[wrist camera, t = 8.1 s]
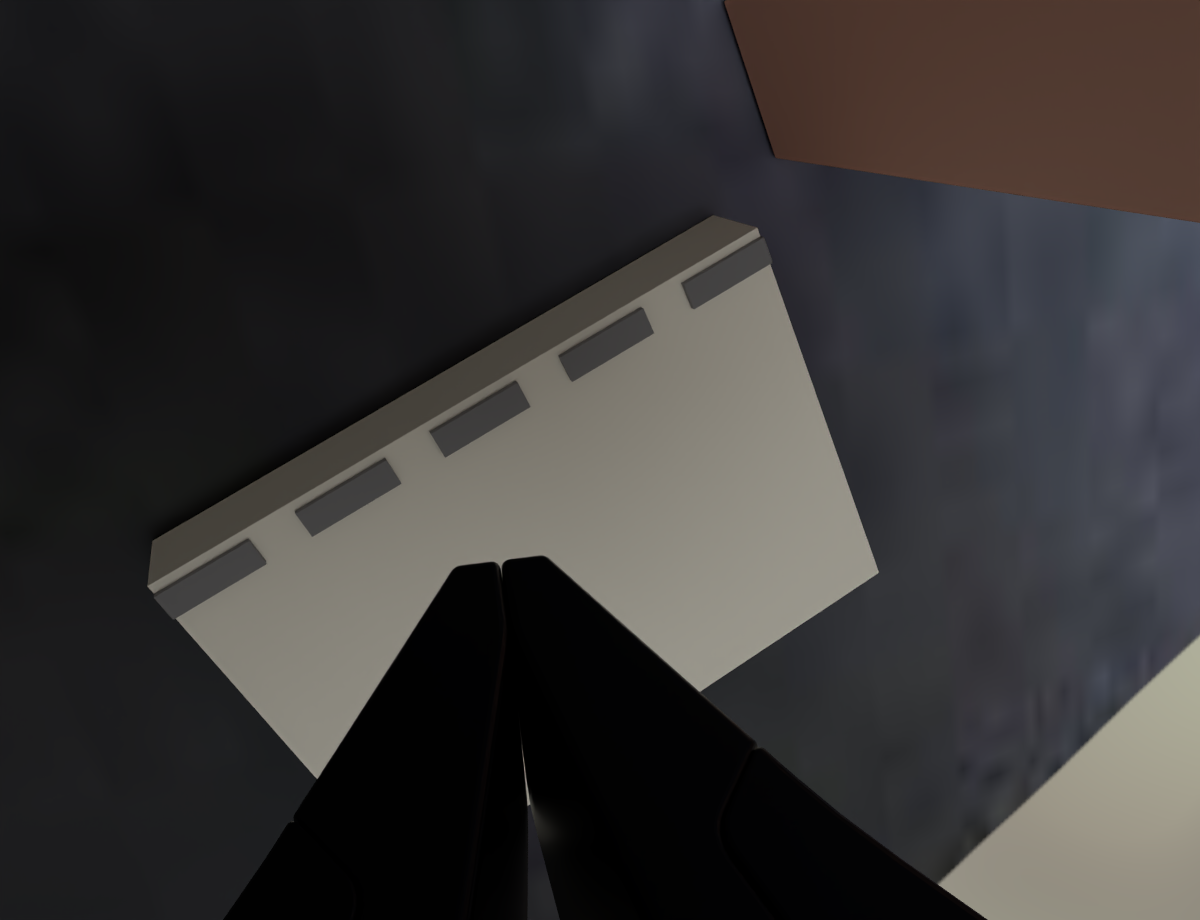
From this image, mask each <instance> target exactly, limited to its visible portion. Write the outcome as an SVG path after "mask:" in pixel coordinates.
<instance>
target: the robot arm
mask: <svg viewBox="0 0 1200 920" xmlns="http://www.w3.org/2000/svg"><path fill="white" fill-rule="evenodd" d="M501 571H502V573H501ZM522 750H523V752H522ZM523 758H524V761H523ZM524 766H525V771H524ZM525 774H526V781H527V787H528V794H529V800H530V805H531V809H532V814H533V818H534V822H535V827H536V831H537V834H538V838H539V842H540V846H541V850H542V853H543V857H544V861H545V865H546V869H547V872H548V876H549V880H550V884H551V888H552V891H553V895H554V899H555V903H556V907H557V910H558V914H559V918H560V920H987V919H986V918H984V917H983V916H981V915H980V914H979V913H977V912H976V911H974V910H973V909H972V908H970V907H969V906H967V905H966V904H964V903H963V902H962V901H960V900H958V899H957V898H956V897H955V896H953V895H951V894H950V893H949V892H947V891H946V890H945V889H943V888H942V887H940V886H939V885H938V884H936V883H935V882H933V881H932V880H930V879H929V878H928V877H926V876H925V875H923V874H922V873H921V872H919V871H918V870H916V869H915V868H913V867H912V866H911V865H909V864H908V863H906V862H905V861H903V860H902V859H901V858H899V857H898V856H897V855H895V854H894V853H893V852H891V851H890V850H889V849H887V848H886V847H885V846H883V845H882V844H880V843H879V842H878V841H876V840H875V839H874V838H872V837H871V836H870V835H868V834H867V833H866V832H864V831H863V830H862V829H860V828H859V827H858V826H856V825H855V824H854V823H852V822H851V821H850V820H848V819H847V818H846V817H844V816H843V815H841V814H840V813H839V812H838V811H837V810H835V809H834V808H833V807H832V806H831V805H829V804H828V803H827V802H826V801H825V800H823V799H822V798H821V797H820V796H819V795H817V794H816V793H815V792H814V791H813V790H811V789H810V788H809V787H808V786H807V785H805V784H804V783H803V782H802V781H801V780H799V779H798V778H797V777H796V776H795V775H793V774H792V773H791V772H790V771H789V770H788V769H787V768H785V767H784V766H783V765H782V764H781V763H780V762H779V761H778V760H776V759H775V758H774V757H773V756H772V755H771V754H770V753H769V752H767V751H766V750H765V749H764V748H762V747H759V748H758V746H757V743H756V741H755V740H753V739H752V738H751V737H750V736H749V735H748V734H747V733H745V732H744V731H743V730H742V729H741V728H740V727H739V726H738V725H736V724H735V723H734V722H733V721H732V720H731V719H730V718H729V717H727V716H726V715H725V714H724V713H723V712H722V711H721V710H720V709H718V708H717V707H716V706H715V705H714V704H713V703H712V702H711V701H709V700H708V699H707V698H706V697H705V696H704V695H703V694H702V693H700V692H699V691H698V690H697V689H696V688H695V687H694V686H693V685H691V684H690V683H689V682H688V681H687V680H686V679H685V678H684V677H682V676H681V675H680V674H679V673H678V672H677V671H676V670H674V669H673V668H672V667H671V666H670V665H669V664H668V663H667V662H665V661H664V660H663V659H662V658H661V657H660V656H659V655H658V654H656V653H655V652H654V651H653V650H652V649H651V648H650V647H649V646H647V645H646V644H645V643H644V642H643V641H642V640H641V639H640V638H638V637H637V636H636V635H635V634H634V633H633V632H632V631H631V630H629V629H628V628H627V627H626V626H625V625H624V624H623V623H622V622H620V621H619V620H618V619H617V618H616V617H615V616H614V615H613V614H611V613H610V612H609V611H608V610H607V609H606V608H605V607H604V606H602V605H601V604H600V603H599V602H598V601H597V600H596V599H594V598H593V597H592V596H591V595H590V594H589V593H588V592H587V591H585V590H584V589H583V588H582V587H581V586H580V585H579V584H578V583H576V582H575V581H574V580H573V579H572V578H571V577H570V576H569V575H567V574H566V573H565V572H564V571H563V570H562V569H561V568H560V567H558V566H557V565H556V564H555V563H554V562H553V561H552V560H551V559H549V558H548V557H546V556H543V555H538V556H530V557H522V558H515V559H508V560H506V561H505V562H503V564H502V567H501V568H500V566H499V565H498V563H496V562H483V563H475V564H467V565H460V566H457V567H455V568H454V569H453V570H452V571H451V572H450V574H449V576H448V577H447V579H446V580H445V582H444V583H443V585H442V586H441V588H440V590H439V591H438V593H437V594H436V596H435V597H434V599H433V600H432V602H431V604H430V605H429V607H428V608H427V610H426V611H425V613H424V614H423V616H422V617H421V619H420V621H419V622H418V624H417V625H416V627H415V628H414V630H413V631H412V633H411V635H410V636H409V638H408V639H407V641H406V642H405V644H404V645H403V647H402V648H401V650H400V652H399V653H398V655H397V656H396V658H395V659H394V661H393V662H392V664H391V666H390V667H389V669H388V670H387V672H386V673H385V675H384V676H383V678H382V679H381V681H380V683H379V684H378V686H377V687H376V689H375V690H374V692H373V693H372V695H371V697H370V698H369V700H368V701H367V703H366V704H365V706H364V707H363V709H362V711H361V712H360V714H359V715H358V717H357V718H356V720H355V721H354V723H353V724H352V726H351V728H350V729H349V731H348V732H347V734H346V735H345V737H344V738H343V740H342V742H341V743H340V745H339V746H338V748H337V749H336V751H335V752H334V754H333V755H332V757H331V759H330V760H329V762H328V763H327V765H326V766H325V768H324V769H323V771H322V773H321V774H320V776H319V777H318V779H317V780H316V782H315V783H314V785H313V786H312V788H311V790H310V791H309V793H308V794H307V796H306V797H305V799H304V800H303V802H302V804H301V805H300V807H299V808H298V810H297V811H296V813H295V814H294V821H292V822H290V823H288V824H287V826H286V827H285V829H284V830H283V832H282V834H281V835H280V837H279V838H278V840H277V841H276V843H275V845H274V846H273V848H272V849H271V851H270V852H269V854H268V855H267V857H266V859H265V860H264V861H263V863H262V864H261V866H260V867H259V869H258V870H257V872H256V873H255V875H254V876H253V877H252V879H251V880H250V882H249V883H248V885H247V886H246V888H245V889H244V890H243V892H242V893H241V895H240V896H239V898H238V899H237V901H236V902H235V904H234V905H233V906H232V908H231V909H230V911H229V912H228V914H227V915H226V917H225V918H224V919H223V920H527V907H528V805H527V792H526V781H525Z"/></svg>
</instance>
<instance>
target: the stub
mask: <svg viewBox="0 0 1200 920" xmlns="http://www.w3.org/2000/svg"><path fill="white" fill-rule="evenodd" d="M724 3H725V6H726V9H727V12H728V15H729V18H730V21H731V24H732V27H733V30H734V33H735V36H736V39H737V42H738V45H739V48H740V51H741V55H742V58H743V61H744V64H745V67H746V70H747V73H748V76H749V79H750V82H751V85H752V88H753V91H754V94H755V97H756V100H757V103H758V106H759V109H760V112H761V115H762V118H763V121H764V124H765V127H766V131H767V134H768V137H769V140H770V143H771V146H772V149H773V152H774V155H775V158H779V159H786V160H792V161H799V162H806V163H812V164H819V165H825V166H832V167H838V168H845V169H851V170H858V171H864V172H871V173H878V174H884V175H891V176H897V177H904V178H910V179H917V180H923V181H930V182H937V183H943V184H950V185H956V186H963V187H969V188H976V189H982V190H989V191H996V192H1002V193H1009V194H1015V195H1022V196H1028V197H1035V198H1041V199H1048V200H1054V201H1061V202H1068V203H1074V204H1081V205H1087V206H1094V207H1100V208H1107V209H1113V210H1120V211H1127V212H1133V213H1140V214H1146V215H1153V216H1159V217H1166V218H1172V219H1179V220H1185V221H1192V222H1199V223H1200V0H726V1H724Z"/></svg>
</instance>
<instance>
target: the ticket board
mask: <svg viewBox="0 0 1200 920" xmlns="http://www.w3.org/2000/svg"><path fill="white" fill-rule="evenodd" d="M771 263H773V262H772V259H771V256H770V253H769V250H768V248H767V245H766V242H765V239H764V237H761V236H760V234H759V231H758V228H756V227H753V226H749V225H746V224H742V223H739V222H735V221H732V220H728V219H725V218H721V217H718V216H714V215H712V216H711V217H709V218H707V219H706V220H704V221H702V222H700V223H699V224H697V225H695V226H694V227H692V228H690V229H688V230H687V231H685V232H683V233H681V234H680V235H678V236H676V237H675V238H673V239H671V240H669V241H668V242H666V243H664V244H663V245H661V246H659V247H657V248H656V249H654V250H652V251H651V252H649V253H647V254H645V255H644V256H642V257H640V258H638V259H637V260H635V261H633V262H632V263H630V264H628V265H626V266H625V267H623V268H621V269H620V270H618V271H616V272H614V273H613V274H611V275H609V276H607V277H606V278H604V279H602V280H601V281H599V282H597V283H595V284H594V285H592V286H590V287H589V288H587V289H585V290H583V291H582V292H580V293H578V294H577V295H575V296H573V297H571V298H570V299H568V300H566V301H564V302H563V303H561V304H559V305H558V306H556V307H554V308H552V309H551V310H549V311H547V312H546V313H544V314H542V315H540V316H539V317H537V318H535V319H533V320H532V321H530V322H528V323H527V324H525V325H523V326H521V327H520V328H518V329H516V330H515V331H513V332H511V333H509V334H508V335H506V336H504V337H503V338H501V339H499V340H497V341H496V342H494V343H492V344H490V345H489V346H487V347H485V348H484V349H482V350H480V351H478V352H477V353H475V354H473V355H472V356H470V357H468V358H466V359H465V360H463V361H461V362H459V363H458V364H456V365H454V366H453V367H451V368H449V369H447V370H446V371H444V372H442V373H441V374H439V375H437V376H435V377H434V378H432V379H430V380H429V381H427V382H425V383H423V384H422V385H420V386H418V387H416V388H415V389H413V390H411V391H410V392H408V393H406V394H404V395H403V396H401V397H399V398H398V399H396V400H394V401H392V402H391V403H389V404H387V405H385V406H384V407H382V408H380V409H379V410H377V411H375V412H373V413H372V414H370V415H368V416H367V417H365V418H363V419H361V420H360V421H358V422H356V423H355V424H353V425H351V426H349V427H348V428H346V429H344V430H342V431H341V432H339V433H337V434H336V435H334V436H332V437H330V438H329V439H327V440H325V441H324V442H322V443H320V444H318V445H317V446H315V447H313V448H311V449H310V450H308V451H306V452H305V453H303V454H301V455H299V456H298V457H296V458H294V459H293V460H291V461H289V462H287V463H286V464H284V465H282V466H280V467H279V468H277V469H275V470H274V471H272V472H270V473H268V474H267V475H265V476H263V477H262V478H260V479H258V480H256V481H255V482H253V483H251V484H250V485H248V486H246V487H244V488H243V489H241V490H239V491H237V492H236V493H234V494H232V495H231V496H229V497H227V498H225V499H224V500H222V501H220V502H219V503H217V504H215V505H213V506H212V507H210V508H208V509H206V510H205V511H203V512H201V513H200V514H198V515H196V516H194V517H193V518H191V519H189V520H188V521H186V522H184V523H182V524H181V525H179V526H177V527H176V528H174V529H172V530H170V531H169V532H167V533H165V534H163V535H162V536H160V537H158V538H157V539H155V540H153V541H152V550H151V558H150V567H149V576H148V585H147V586H148V588H149V589H150V590H151V591H152V592H153V593H154V599H155V600H156V601H157V602H158V603H159V604H160V605H161V607H162V608H163V609H164V610H165V611H166V612H167V613H168V615H169V616H170V617H171V618H172V619H173V620H174V619H177V621H178V622H179V623H180V624H181V625H182V626H183V627H184V629H185V630H186V631H187V632H188V633H189V634H190V635H191V636H192V638H193V639H194V640H195V641H196V642H197V643H198V644H199V646H200V647H201V648H202V649H203V650H204V651H205V652H206V653H207V655H208V656H209V657H210V658H211V659H212V660H213V661H214V663H215V664H216V665H217V666H218V667H219V668H220V669H221V671H222V672H223V673H224V674H225V675H226V676H227V677H228V678H229V680H230V681H231V682H232V683H233V684H234V685H235V686H236V688H237V689H238V690H239V691H240V692H241V693H242V694H243V696H244V697H245V698H246V699H247V700H248V701H249V702H250V703H251V705H252V706H253V707H254V708H255V709H256V710H257V711H258V713H259V714H260V715H261V716H262V717H263V718H264V719H265V721H266V722H267V723H268V724H269V725H270V726H271V727H272V728H273V730H274V731H275V732H276V733H277V734H278V735H279V736H280V738H281V739H282V740H283V741H284V742H285V743H286V744H287V746H288V747H289V748H290V749H291V750H292V751H293V752H294V753H295V755H296V756H297V757H298V758H299V759H300V760H301V761H302V763H303V764H304V765H305V766H306V767H307V768H308V769H309V771H310V772H311V773H312V774H313V775H314V776H315V777H316V778H317V779H318V777H319V776H320V774H321V773H322V771H323V769H324V768H325V766H326V765H327V763H328V762H329V760H330V759H331V757H332V755H333V754H334V752H335V751H336V749H337V748H338V746H339V745H340V743H341V742H342V740H343V738H344V737H345V735H346V734H347V732H348V731H349V729H350V728H351V726H352V724H353V723H354V721H355V720H356V718H357V717H358V715H359V714H360V712H361V711H362V709H363V707H364V706H365V704H366V703H367V701H368V700H369V698H370V697H371V695H372V693H373V692H374V690H375V689H376V687H377V686H378V684H379V683H380V681H381V679H382V678H383V676H384V675H385V673H386V672H387V670H388V669H389V667H390V666H391V664H392V662H393V661H394V659H395V658H396V656H397V655H398V653H399V652H400V650H401V648H402V647H403V645H404V644H405V642H406V641H407V639H408V638H409V636H410V635H411V633H412V631H413V630H414V628H415V627H416V625H417V624H418V622H419V621H420V619H421V617H422V616H423V614H424V613H425V611H426V610H427V608H428V607H429V605H430V604H431V602H432V600H433V599H434V597H435V596H436V594H437V593H438V591H439V590H440V588H441V586H442V585H443V583H444V582H445V580H446V579H447V577H448V576H449V574H450V572H451V571H452V570H453V569H454V568H455V567H457V566H460V565H467V564H475V563H483V562H496V563H498V565H499V566H500V568H501V567H502V564H503V562H505V561H506V560H508V559H515V558H522V557H530V556H538V555H543V556H546V557H548V558H549V559H551V560H552V561H553V562H554V563H555V564H556V565H557V566H558V567H560V568H561V569H562V570H563V571H564V572H565V573H566V574H567V575H569V576H570V577H571V578H572V579H573V580H574V581H575V582H576V583H578V584H579V585H580V586H581V587H582V588H583V589H584V590H585V591H587V592H588V593H589V594H590V595H591V596H592V597H593V598H594V599H596V600H597V601H598V602H599V603H600V604H601V605H602V606H604V607H605V608H606V609H607V610H608V611H609V612H610V613H611V614H613V615H614V616H615V617H616V618H617V619H618V620H619V621H620V622H622V623H623V624H624V625H625V626H626V627H627V628H628V629H629V630H631V631H632V632H633V633H634V634H635V635H636V636H637V637H638V638H640V639H641V640H642V641H643V642H644V643H645V644H646V645H647V646H649V647H650V648H651V649H652V650H653V651H654V652H655V653H656V654H658V655H659V656H660V657H661V658H662V659H663V660H664V661H665V662H667V663H668V664H669V665H670V666H671V667H672V668H673V669H674V670H676V671H677V672H678V673H679V674H680V675H681V676H682V677H684V678H685V679H686V680H687V681H688V682H689V683H690V684H691V685H693V686H694V687H695V688H696V689H697V690H698V691H699V692H700V691H701V690H703V689H704V688H706V687H707V686H709V685H710V684H712V683H713V682H715V681H716V680H718V679H719V678H721V677H722V676H724V675H725V674H727V673H728V672H730V671H732V670H733V669H735V668H736V667H738V666H739V665H741V664H742V663H744V662H745V661H747V660H748V659H750V658H751V657H753V656H754V655H756V654H757V653H759V652H760V651H762V650H763V649H765V648H766V647H768V646H769V645H771V644H772V643H774V642H775V641H777V640H778V639H780V638H781V637H783V636H784V635H786V634H787V633H789V632H790V631H792V630H793V629H795V628H796V627H798V626H799V625H801V624H802V623H804V622H805V621H807V620H808V619H810V618H811V617H813V616H814V615H816V614H817V613H819V612H820V611H822V610H823V609H825V608H826V607H828V606H829V605H831V604H832V603H834V602H835V601H837V600H838V599H840V598H841V597H843V596H844V595H846V594H847V593H849V592H850V591H852V590H854V589H855V588H857V587H858V586H860V585H861V584H863V583H864V582H866V581H867V580H869V579H870V578H872V577H873V576H875V575H876V574H878V573H879V572H878V569H877V566H876V563H875V560H874V558H873V555H872V552H871V549H870V546H869V543H868V541H867V538H866V535H865V532H864V529H863V526H862V523H861V521H860V518H859V515H858V512H857V509H856V506H855V504H854V501H853V498H852V495H851V492H850V489H849V487H848V484H847V481H846V478H845V475H844V472H843V470H842V467H841V464H840V461H839V458H838V455H837V453H836V450H835V447H834V444H833V441H832V438H831V436H830V433H829V430H828V427H827V424H826V421H825V418H824V416H823V413H822V410H821V407H820V404H819V401H818V399H817V396H816V393H815V390H814V387H813V384H812V382H811V379H810V376H809V373H808V370H807V367H806V365H805V362H804V359H803V356H802V353H801V350H800V348H799V345H798V342H797V339H796V336H795V333H794V331H793V328H792V325H791V322H790V319H789V316H788V314H787V311H786V308H785V305H784V302H783V299H782V296H781V294H780V291H779V288H778V285H777V282H776V279H775V277H774V274H773V271H772V268H771V265H770V264H771ZM501 573H502V571H501ZM522 752H523V750H522ZM523 761H524V758H523ZM524 771H525V766H524ZM525 781H526V774H525ZM526 792H527V805H530V800H529V794H528V787H527V781H526Z"/></svg>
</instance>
